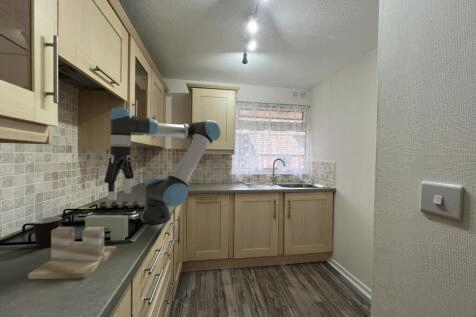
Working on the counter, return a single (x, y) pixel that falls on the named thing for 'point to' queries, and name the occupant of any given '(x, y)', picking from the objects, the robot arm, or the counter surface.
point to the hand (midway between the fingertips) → (120, 196)
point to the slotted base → (70, 267)
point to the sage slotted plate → (110, 224)
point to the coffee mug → (45, 230)
